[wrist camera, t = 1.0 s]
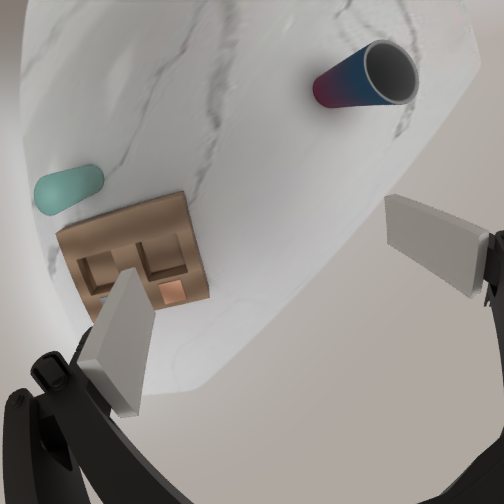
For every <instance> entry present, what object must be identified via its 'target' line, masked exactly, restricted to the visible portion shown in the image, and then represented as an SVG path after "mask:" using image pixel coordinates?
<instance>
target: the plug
mask: <svg viewBox="0 0 504 504" xmlns="http://www.w3.org/2000/svg"><path fill="white" fill-rule="evenodd" d="M103 183H104V175H103V172H102V171H101V169H100V168H99V167H97V166H95V165H87V166H82V167H78V168H73V169H69V170H65V171H61V172H57V173H53V174H49V175H45V176H43V177H42V178H40V179H39V181H38V182H37V184H36V186H35V189H34V200H35V204H36V206H37V208H38V209H39V210H40V211H41V212H42V213H43V214H45V215H49V216H52V215H56V214H58V213H59V212H61V211H63V210H65V209H66V208H68V207H70V206H72V205H74V204H76V203H78V202H80V201H81V200H83V199H85V198H87V197H89V196H91V195H93V194H95V193H97V192H98V191H99V190H100V189H101V188H102V186H103Z"/></svg>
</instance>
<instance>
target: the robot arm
mask: <svg viewBox="0 0 504 504" xmlns="http://www.w3.org/2000/svg"><path fill="white" fill-rule="evenodd" d="M384 199H385V210H386V223H387V243H388V244H389V245H390V246H392V247H394V248H395V249H397V250H398V251H400V252H402V253H403V254H405V255H406V256H408V257H409V258H411V259H413V260H414V261H416V262H417V263H419V264H420V265H422V266H423V267H425V268H426V269H428V270H429V271H431V272H432V273H434V274H435V275H437V276H438V277H440V278H441V279H443V280H444V281H446V282H447V283H449V284H450V285H452V286H453V287H455V288H456V289H457V290H459V291H460V292H461V293H463V294H464V295H465V296H467V297H468V298H470V299H471V298H473V297H474V296H476V295H477V294H479V293H480V292H481V289H482V284H483V279H484V280H486V281H487V282H489V283H488V288H487V293H486V298H485V302H484V306H486V305H487V302H488V301H490V305H489V306H490V307H491V308H492V312H493V317H494V322H495V326H496V331H497V338H498V344H499V350H500V357H501V364H502V374H503V384H504V230H503V231H499V232H497V233H496V234H495V235H493V234H491V233H489V230H486V229H484V228H482V227H480V226H477V225H475V224H473V223H470V222H468V221H466V220H463V219H461V218H458V217H456V216H453V215H451V214H448V213H446V212H444V211H441V210H438V209H435V208H433V207H430V206H428V205H425V204H422V203H420V202H417V201H414V200H411V199H408V198H406V197H403V196H400V195H397V194H393V195H389V196H385V197H384ZM155 315H156V313H155V311H154V309H153V307H152V305H151V303H150V300H149V298H148V296H147V294H146V292H145V289H144V287H143V285H142V282H141V280H140V278H139V275H138V273H137V271H136V268H135V267H133V268H130V269H127V270H123V271H121V273H120V274H119V276H118V278H117V280H116V282H115V284H114V286H113V287H112V289H111V291H110V293H109V295H108V297H107V299H106V301H105V303H104V305H103V307H102V309H101V311H100V313H99V315H98V317H97V319H96V321H95V323H94V325H93V327H90V328H89V329H88V330H87V331H86V332H85V333H84V335H83V336H82V338H81V340H80V342H79V345H78V346H77V349H76V352H75V353H74V355H73V357H72V359H71V362H70V364H69V365H68V364H67V362H66V361H65V359H64V358H63V356H62V355H61V354H60V353H59V352H58V351H52V352H49V353H46V354H44V355H43V356H41V357H40V358H39V359H38V360H37V361H36V362H35V363H34V365H33V366H32V368H31V376H32V377H33V378H34V380H35V381H36V382H37V384H38V385H39V386H40V387H41V389H42V390H43V391H44V392H45V393H44V394H41V395H39V396H36V397H33V396H32V394H31V393H30V392H29V391H28V390H27V389H26V388H21V389H18V390H16V391H15V392H13V393H12V394H11V395H10V396H9V398H8V400H7V402H6V405H5V412H4V425H3V480H4V494H5V503H6V504H91V503H90V500H89V497H88V494H87V491H86V488H85V484H84V481H83V478H82V474H81V471H80V468H81V469H82V471H83V473H84V474H85V476H86V478H87V479H88V481H89V482H90V484H91V486H92V487H93V489H94V490H95V492H96V493H97V495H98V496H99V498H100V499H101V501H102V502H103V504H194V503H192V502H191V501H190V500H189V499H188V498H187V497H185V496H184V495H183V494H182V493H181V492H180V491H179V490H178V489H176V488H175V487H174V486H173V485H172V484H171V483H170V482H169V481H168V480H167V479H165V477H164V476H163V475H162V474H161V473H160V472H159V471H158V470H157V469H156V468H154V466H153V465H152V464H150V462H149V461H148V460H147V459H146V458H145V457H144V456H143V455H142V454H141V453H140V451H139V450H138V449H137V448H136V447H135V446H134V445H133V444H132V443H131V441H130V440H129V439H128V438H127V437H126V436H125V434H124V433H123V432H122V431H121V429H120V428H119V427H118V426H117V425H116V423H115V422H114V421H113V420H112V419H111V418H110V412H111V408H112V409H113V410H114V411H115V413H116V414H117V415H118V416H119V417H120V418H123V417H133V416H138V415H139V408H140V401H141V394H142V387H143V381H144V374H145V368H146V362H147V356H148V351H149V345H150V340H151V335H152V329H153V324H154V319H155ZM79 466H80V467H79ZM418 504H504V427H503V430H502V433H501V435H500V438H499V439H498V440H497V441H496V442H494V443H493V444H492V445H491V446H490V447H489V448H487V449H486V450H485V451H484V452H483V453H482V454H480V455H479V456H478V457H477V458H476V459H475V460H474V461H473V462H472V463H471V465H470V466H469V467H468V468H467V469H466V470H465V471H464V472H463V473H462V474H461V475H460V476H459V477H458V478H457V479H456V480H455V481H454V482H453V483H452V484H451V485H450V486H449V487H448V488H447V489H446V490H444V491H443V492H442V493H441V494H440V495H439V496H437V497H435V498H432V499H429V500H426V501H423V502H421V503H418Z"/></svg>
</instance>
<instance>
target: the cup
mask: <svg viewBox="0 0 504 504" xmlns="http://www.w3.org/2000/svg"><path fill="white" fill-rule="evenodd" d="M418 87H419V76H418V72H417V69H416V66H415V64H414V62H413V60H412V58H411V57H410V56H409V54H408V53H407V52H406V51H405V50H404V49H403V48H402V47H400V46H399V45H397V44H396V43H394V42H391V41H388V40H377V41H374V42H372V43H371V44H369V45H367V46H366V47H364V48H362V49H361V50H359V51H358V52H356V53H354V54H353V55H351V56H350V57H348V58H347V59H345V60H343V61H342V62H340V63H339V64H337V65H336V66H334V67H333V68H331V69H330V70H328V71H327V72H326V73H324V74H323V75H321V76H320V77H318V78H317V79H316V80H315V82H314V85H313V93H314V96H315V98H316V100H317V101H318V102H319V103H320V104H321V105H323V106H325V107H327V108H339V107H352V106H370V105H403V104H407V103H408V102H410V101H412V99H413V98H414V97H415V96H416V94H417V91H418Z"/></svg>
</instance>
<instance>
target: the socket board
mask: <svg viewBox="0 0 504 504" xmlns="http://www.w3.org/2000/svg"><path fill="white" fill-rule="evenodd" d="M56 237H57V240H58V242H59V245H60V248H61V251H62V253H63V256H64V259H65V261H66V264H67V266H68V269H69V271H70V274H71V276H72V279H73V281H74V283H75V286H76V288H77V290H78V292H79V295H80V297H81V299H82V301H83V303H84V305H85V308H86V310H87V312H88V314H89V316H90V318H91V320H92V322H93V323H95V321H96V319H97V317H98V315H99V313H100V311H101V309H102V307H103V305H104V303H105V301H106V299H107V297H108V295H109V293H110V291H111V289H112V287H113V286H114V284H115V282H116V280H117V278H118V276H119V274H120V273H121V271H123V270H127V269H130V268H133V267H135V268H136V271H137V273H138V275H139V278H140V280H141V282H142V285H143V287H144V289H145V292H146V294H147V296H148V298H149V300H150V303H151V305H152V307H153V309H154V310H158V309H163V308H168V307H172V306H176V305H181V304H185V303H190V302H194V301H198V300H202V299H207V298H210V295H209V285H208V282H207V278H206V275H205V271H204V268H203V264H202V260H201V257H200V253H199V249H198V246H197V242H196V238H195V234H194V231H193V227H192V223H191V219H190V215H189V211H188V207H187V203H186V199H185V195H184V191H181V192H177V193H173V194H169V195H166V196H162V197H158V198H155V199H151V200H148V201H144V202H140V203H137V204H134V205H130V206H127V207H123V208H120V209H117V210H114V211H110V212H107V213H104V214H101V215H98V216H95V217H92V218H89V219H86V220H83V221H80V222H77V223H74V224H71V225H68V226H65V227H64V228H63V229H61V230H60V231H58V232H57V233H56Z"/></svg>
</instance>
